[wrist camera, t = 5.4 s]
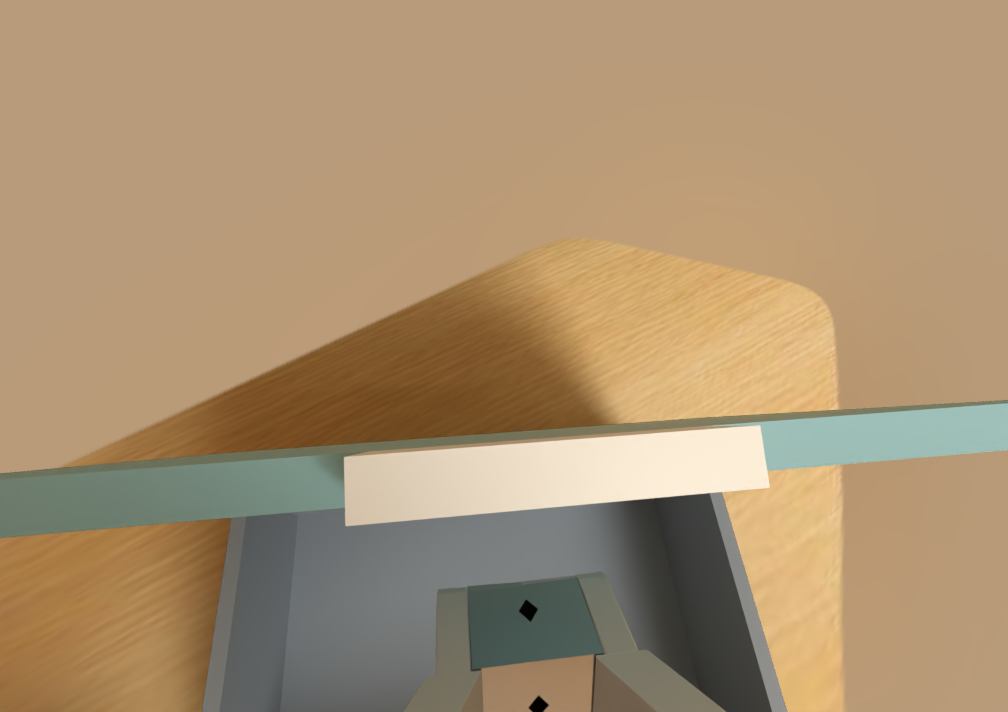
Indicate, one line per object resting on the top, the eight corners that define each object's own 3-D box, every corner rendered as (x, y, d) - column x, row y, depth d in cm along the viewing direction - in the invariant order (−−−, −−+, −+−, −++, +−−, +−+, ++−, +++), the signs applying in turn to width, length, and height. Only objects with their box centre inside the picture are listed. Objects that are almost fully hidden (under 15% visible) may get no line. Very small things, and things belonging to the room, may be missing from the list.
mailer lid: (-683, 619, 3) (-661, 533, 4) (232, 469, 17) (232, 452, 17) (1363, 433, 5) (1344, 380, 5) (709, 432, 19) (707, 417, 19)
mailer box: (253, 887, 17) (154, 1023, 11) (291, 507, 23) (237, 479, 17) (734, 808, 19) (840, 891, 13) (654, 476, 24) (707, 442, 19)
